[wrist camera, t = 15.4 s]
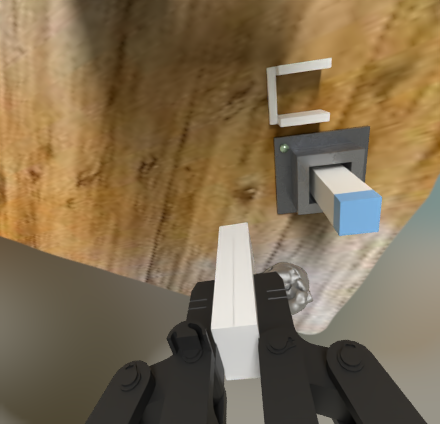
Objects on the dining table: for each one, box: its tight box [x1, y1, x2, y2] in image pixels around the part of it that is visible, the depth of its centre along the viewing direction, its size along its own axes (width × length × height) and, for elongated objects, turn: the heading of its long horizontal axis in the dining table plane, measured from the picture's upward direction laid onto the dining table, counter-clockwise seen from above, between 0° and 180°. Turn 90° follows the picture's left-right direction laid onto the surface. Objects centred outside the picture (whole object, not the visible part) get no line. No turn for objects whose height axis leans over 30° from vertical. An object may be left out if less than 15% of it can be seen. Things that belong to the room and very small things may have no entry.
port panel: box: [274, 126, 370, 215], centre depth 40 cm, size 12×13×5 cm
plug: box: [309, 163, 382, 236], centre depth 35 cm, size 4×4×14 cm
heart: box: [264, 262, 313, 315], centre depth 45 cm, size 10×10×12 cm
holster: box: [266, 58, 332, 127], centre depth 35 cm, size 7×7×4 cm
